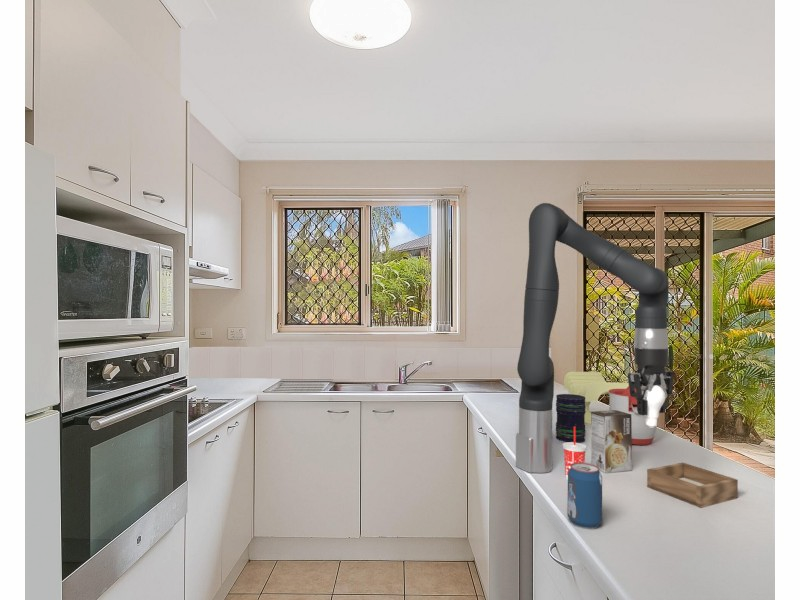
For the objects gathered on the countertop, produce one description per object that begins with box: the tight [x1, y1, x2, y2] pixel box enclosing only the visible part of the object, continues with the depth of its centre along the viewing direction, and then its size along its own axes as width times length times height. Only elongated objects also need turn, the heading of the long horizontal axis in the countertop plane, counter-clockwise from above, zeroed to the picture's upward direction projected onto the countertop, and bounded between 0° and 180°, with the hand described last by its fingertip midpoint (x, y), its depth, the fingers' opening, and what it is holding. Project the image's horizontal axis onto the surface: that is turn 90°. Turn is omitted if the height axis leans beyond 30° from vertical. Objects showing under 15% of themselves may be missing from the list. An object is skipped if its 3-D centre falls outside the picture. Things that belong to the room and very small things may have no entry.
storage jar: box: [555, 393, 586, 444], centre depth 168 cm, size 10×10×15 cm
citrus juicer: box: [608, 386, 658, 446], centre depth 166 cm, size 16×17×20 cm
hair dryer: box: [563, 371, 629, 425], centre depth 198 cm, size 30×16×18 cm, turn 176°
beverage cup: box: [562, 426, 587, 481], centre depth 129 cm, size 6×6×14 cm
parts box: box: [646, 462, 739, 508], centre depth 121 cm, size 14×14×4 cm
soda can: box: [567, 462, 603, 530], centre depth 103 cm, size 7×7×12 cm
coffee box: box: [590, 410, 633, 474], centre depth 138 cm, size 9×6×16 cm
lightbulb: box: [641, 385, 665, 428], centre depth 120 cm, size 6×6×11 cm
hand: (651, 413), depth 120 cm, fingers closed on lightbulb, 6 cm apart
